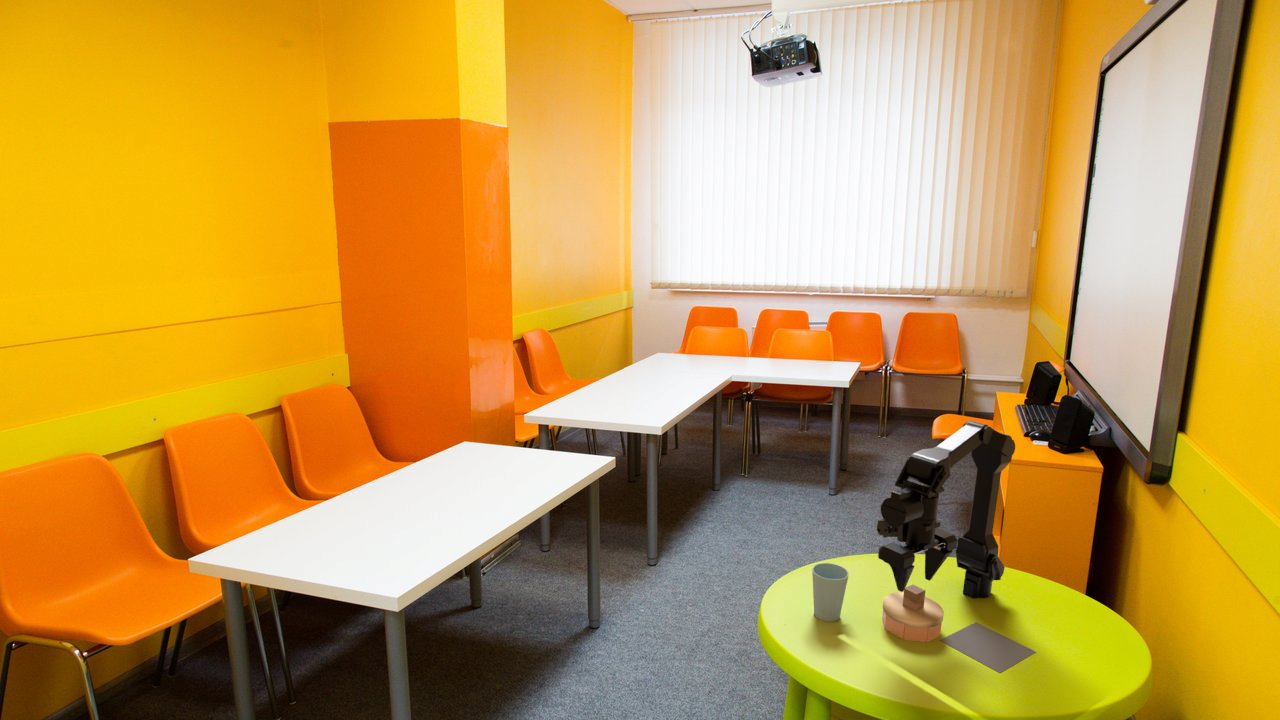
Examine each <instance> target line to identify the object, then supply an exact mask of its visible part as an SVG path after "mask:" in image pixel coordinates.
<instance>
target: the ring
mask: <svg viewBox="0 0 1280 720" xmlns="http://www.w3.org/2000/svg"><path fill="white" fill-rule="evenodd" d="M881 618H882V623H883V627H884V630H885V631H888V632H890V633H891V634H892V635H895V636H896V637H898V638H899V639H902V640H903V641H905V640H906V641H912V642H913V641H914V642H921V643H928V642H930V641H933V640H934V639H936V638H938V637H940V636H941V631H942V623H943V622H942V623H940V624H939V625H937V626H934V627H927V628H921V627H913V626H908V625H905V624H902V623H899V622H897V621H895V620H893V619H892V618H890V617H889V616H888V615H887V614H886V613H885V612H884V610H883V609H882V616H881Z"/></svg>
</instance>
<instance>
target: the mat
mask: <svg viewBox="0 0 1280 720" xmlns="http://www.w3.org/2000/svg"><path fill="white" fill-rule="evenodd" d="M939 641H940V642H941V643H943V644H945V645H947V646H948V647H950V648H952V649H954V650H956V651H957V652H960V653H962V654H964V655H965V656H968V657H969V658H971V659H973V660H975V661H977V662H978V663H980V664H982V665H983V666H985V667H987V668H989V669H991V670H993V671H995V672H996V673H999V674H1001V673H1003V672H1005V671H1006V670H1008V669H1010V668H1012V667H1014V666H1015V665H1017V664H1018V663H1020V662H1022V661H1023V660H1025V659H1027V658H1028V657H1031V656H1032V655H1034V654H1035V653H1037V651H1036V650H1033V649H1031V647H1030V648H1029V647H1028V646H1025V645H1023V644H1022V643H1019V642H1018V641H1015V640H1013V639H1011V638H1009V637H1008V636H1005V635H1004V634H1001V633H999V632H998V631H995V630H993V629H991V628H990V627H987V626H986V625H984V624H981V623H979V622H977V621H975V622H973V623H971V624H969V625H967V626H965V627H963V628H961V629H959V630H958V631H957V630H956V631H954V632H953V633H951V634H948V635H947V636H945V637H943V638H941V639H939Z"/></svg>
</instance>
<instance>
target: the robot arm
mask: <svg viewBox="0 0 1280 720" xmlns="http://www.w3.org/2000/svg"><path fill="white" fill-rule="evenodd" d="M1015 451H1016V443H1015V440H1014V439H1013V438H1012V436H1011V435H1009V434H1005V433H1001V432H999V431H997V430H995V429H993V428H992V427H991V426H989V425H988V424H985V423H982V422H981V423H980V422H978V421H973V420H969V421H968V420H967V421H964V423H963V424H962V427H961V428H959V429H958V430H957V431H955V432H954V433H953V434H952V435H950V436H948V437H947V438H945V439H944V441H942V442H940V443H939V444H938V445H937V446H934V447H929V448H923V449H919V450H917V451H915V452H913V453H911V455H910V456H908V458H907V459H906V461H905V463H904V465H903V467H902V469H901V471H900V473H899V475H898V477H897V479H896V480H895V483H894V487H896V488H900V489H898V490H893V491H891V493H890V497H887V498H886V499H884V500H883V501H882V503H881V504H880V514H881V517H882V519H878V520H877V525H876V531H877V534H878V535H879V536H882V538H886V539H887V538H888V537H889V538H896V540H897V541H898V542H900V543H905V545H904V546H903V545H901V544H899V543H896V542H894V541H893V542H890V543H887V544H884V545H882V546H880V547H878V554H877V558H878V560H881V561H883V562H884V563H886V564H888V565H889V566H890V568H891V571H892V574H893V577H894V581H895V585H896V588H897V590H898V592H904V589H905V588H906V587H907V585H908V583H909V580H910V579H911V575H912V573H913V571H914V568H915V565H914V563H915V560H916V555H917V554H920V553H923V552H924V554H925V555H924V578H925V580H927V581H929V582H930V581H932V579H933V577H934V576H935V575H936V574H937V572H938V570H939V569H940V568H941V567H942V565H943V563H945V561H946V560H947V558H949V556H950V555H951V554H953V550H955V557H956V565H957V568H960V569H963V570H964V571H965V572H964V580H963V585H962V586H963V587H962V594H963V595H965V596H967V597H968V598H971V599H973V600H974V599H987V598H990V597H991V595H993V596H995V597H997V595H996V594H994V593H992V587H993V582H994V581H1001V579H1002V577H1003V576H1004V575H1003V574H1004V573H1005V572H1004V571H1005V566H1004V564H1003V562H1002V560H1001V559H1000V557H999V543H997V540H996V538H995V535H994V534H993V531H994V524H995V518H996V517H995V516H996V511H997V504H998V497H999V496H998V495H999V490H1000V484H1001V476H1002V472H1003V471H1004V470H1005V468H1006V467H1007V466H1009V464H1010V463H1011V462H1012V458H1013V456H1014V453H1015ZM969 454H971V455H970V457H971V459H972V461H973V464H974V465H975V467H976V468H975V469H976V474H975V483H974V489H973V490H974V491H973V494H972V495H973V496H972V504H971V510H970V518H969V525H968V530H967V531H966V532H965V533H964V534H963V535H962V536H959V538H958V539H957V538H956V536H955V534H953V533H952V532H948V531H946V530H943V529H940V527H941V521H939V520H937V517H938V510H939V509H938V508H939V499H940V494H941V493H944V492H945V488H944V487H943V485H944V484H945V483H946V482H947V480H948V479H949V478H950V477H951V473H952V472H951V470H952V468H953V467H954V465H956V464H957V463H958V462H960V461H961V460H963V459H964V458H965V457H966V456H967V455H969ZM908 479H909V480H908ZM911 480H912V481H911ZM913 481H914V482H913ZM920 483H921V484H920Z"/></svg>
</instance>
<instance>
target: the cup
mask: <svg viewBox="0 0 1280 720" xmlns="http://www.w3.org/2000/svg"><path fill="white" fill-rule="evenodd" d="M811 571H812V594H813V614H814V616H815V617H816V618H818V619H819V620H822V621H825V622H835V621H836V622H837V621H838V620H839V619H840V617H841V614H842V613H841V612H842V607H843V603H844V598H845V594H846V593H845V592H846V589H847V584H848V580H849V577H850V575H849V571H848V569H846V567H843V566H841V565H839V564H836V563H829V562H823V563H822V562H821V563H817V564H814V565H813V567H812V568H811Z"/></svg>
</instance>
